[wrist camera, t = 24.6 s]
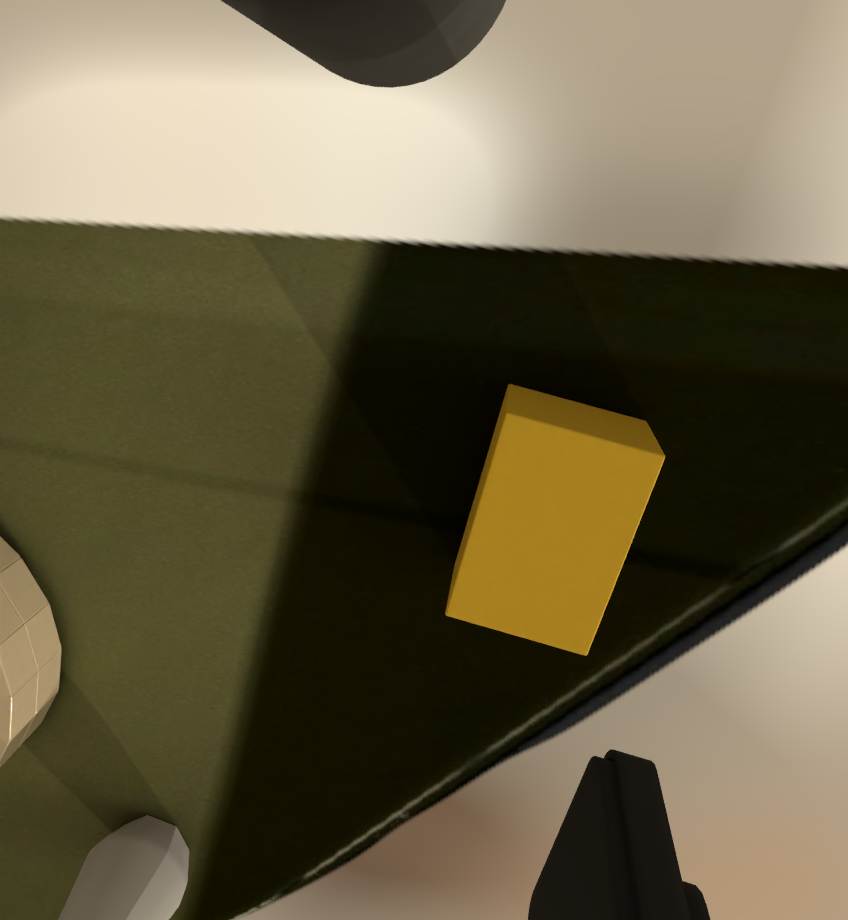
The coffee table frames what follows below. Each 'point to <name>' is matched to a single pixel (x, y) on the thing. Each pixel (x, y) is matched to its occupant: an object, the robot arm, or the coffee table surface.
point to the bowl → (24, 653)
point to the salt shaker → (132, 875)
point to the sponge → (552, 518)
